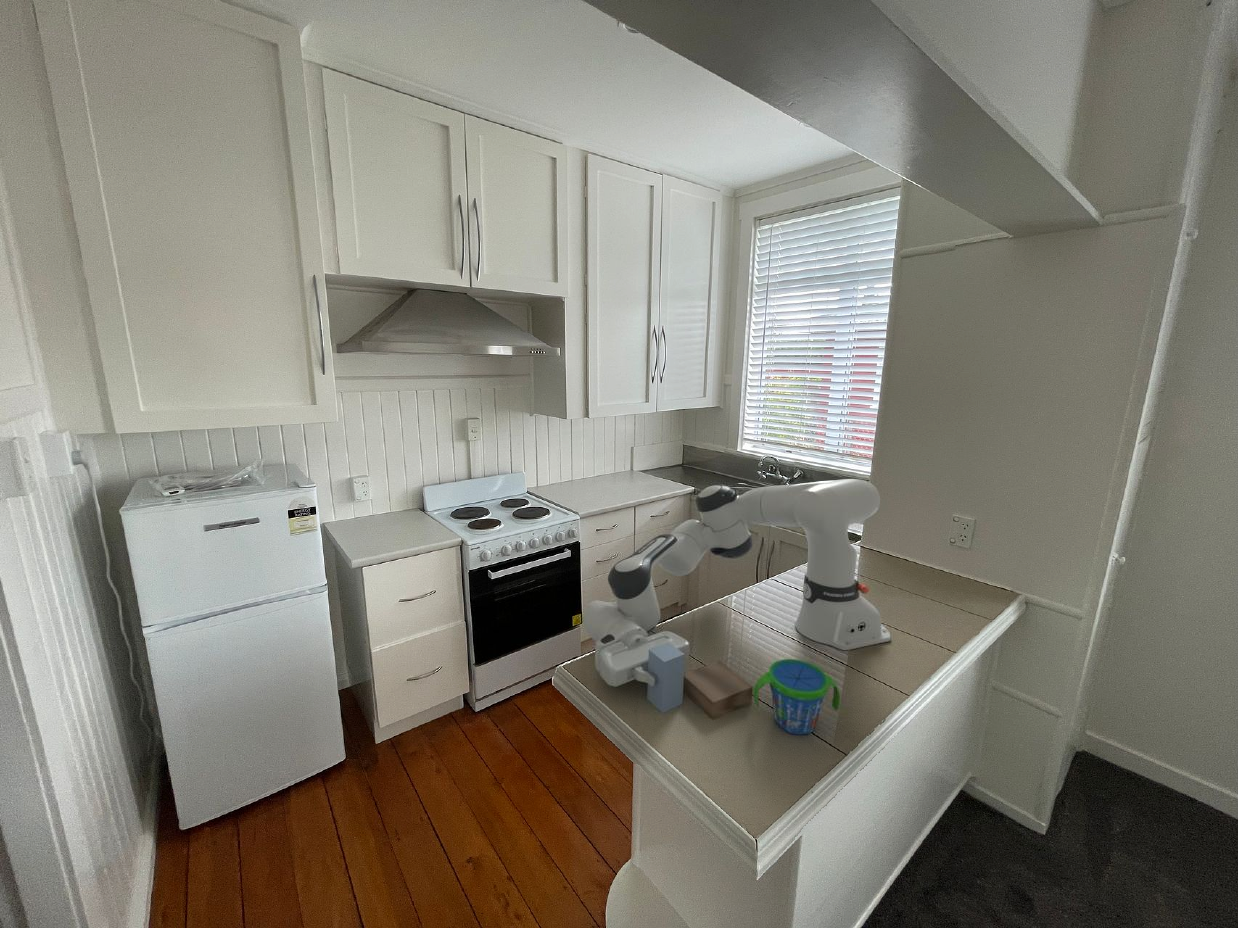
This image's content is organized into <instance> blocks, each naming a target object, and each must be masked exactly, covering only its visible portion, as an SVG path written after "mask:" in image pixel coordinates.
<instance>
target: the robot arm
mask: <svg viewBox="0 0 1238 928" xmlns="http://www.w3.org/2000/svg"><path fill="white" fill-rule="evenodd" d="M739 494H740V491H739V490H738V489H736V488H731V487H729V486H727V485H723V484H715V485H711V486H710V485H709V486H708V487H705V488H704V489H702V490H701V491H700V492H698V494H697V496H696V497H695V505H696V509H697V511H698V512H699V514H700V518H701V520H702V521H700V520H698V519H688V520H685V521H683V522H682V523H681V524H679V525H677V527H676V528H675V529H673V530H672V531H671V532H670V533H664V534H660V535H657V536H655V537H654V538H652V539H651V540H649V541H648V542H646V543H645V544H644V545H642V546H641V547H640V548H639V549H637V550H636V551H635V552H633V553H632V554H631V555H629V556H627V557H625V558H622V559H621V560H619V561H617V562H616V563H615V564H614V565H613V566H612V568H611V570H610V571H609V573H608V576H607V581H608V584H609V587H610V589H611V591H612V594H613V596H614V600H615V601H609V602H608V601H601V600H597V599H596V600H593V601H591V602H589V604H587V605H586V607H585V609H584V611H583V615H582V626H583V628H584V630H585V632H586V633H587V634H588V636H589V638H591V639H592V640H593V641H594V642H595V646H594V663H595V664H594V665H595V670H597V672H599V675H600V677H601V678H602V680H604V682H605V683H606V684H607V685H609V686H611V687H616V688H617V687H619V686H621V685H624V684H626V683H629V682H631V681H634V680H636V681H638V682H642V683H647V685H648V684H649V685H650V686H654V685H656V684H658V676H657V675H655V673H653V672H652V673H648V657H649V649H652V648H654V647H657V646H660V645H663V644H665V643H668V642H669V643H670V644H672V645H673V646H674V647H676V648H677V649H678V650H680V651H681V652H682V653H684V654H685V657H684V661H685V660H686V659H688V658H689V656H690V642H689V641H688V640H687V639H685V638H684V637H682V636H681V635H678V634H676V633H675V632H672V631H669V630H663V631H659V632H656V633H654V634H651V635H649V633H650V632H652V631H653V630H654V629H655V628H656V627H658V624H659V623H660V622H661V619H662V618H661V617H662V613H661V609H660V604H659V602H658V598H657V594H656V590H655V586H654V583H653V577H652V576H653V575H652V571H653V567H655V566H656V565H657V564H658V565H659V567H660V568H661V569H662V570H664V571H665V572H667V573H669V574H671V575H673V576H685V575H686V576H687V575H688V574H690V573H691V572H692V571H694V570H695V569H696V568H697V566H698V565H699V563H700V562H701V560H702V559H703V557H704V555H705V553H706V552H707V551H709V550H710V553H712V554H713V555H714V556H720V557H722V558H725V559H738V558H741V557H743V556H745V555H746V554H748V552H749V553H750V551H751V550H752V547H753V545H754V541H753V537H752V533H751V532H750V531H749V527H748V525H747V524H750V523H752V524H756V525H760V526H766V527H770V526H771V527H802V528H803V530H804V532H805V535H806V539H807V540H806V541H807V548H808V549H807V550H808V553H807V565H806V567H807V568H806V573H804V579H803V589H802V590H803V591H802V593H803V597H802V602H801V606H800V610H799V613H798V616H797V618H796V620H795V623H794V625H795V629H796V630H797V631H798V633H800V634H801V635H802V636H804V637H806V638H808V639H810V640H812V641H814V642H816V643H817V642H818V643H821V644H825V645H829V646H832V647H834V648H837V649H839V650H842V651H850V650H853V649H857V648H858V649H859V648H862V647H868V646H873V645H877V644H880V643H881V644H882V643H885V642H889V641H891V634H890V631H889V630H888V628H886V627H885V626H884V625H883V624H882V619H881V618H882V617H881V615H880V612H879V611H878V609H877V608H876V607H875V606H874V605H873V604H872V603H871V602H869V601H868V600H867V599H866V598H864V597H863V596H862V595H861V594H860V593H862V594H863V595H866V594H868V593H869V591H870V588H869V586H868V585H865V584H864V583H862V582H861V583H859V581H858V580H856V579H855V576H856V567H857V559H858V553H857V551H856V549H855V547H854V546H853V545H852V544H851V543H850V539H849V534H848V533H849V531H848V530H849V526H851V525H854V524H858V523H862V522H863V521H866V520H867V519H868V518H870V517H872V516H873V515H874V514H875V513H876V512H877V511H878V510H879V507H880V504H881V496H880V493H879V490H878V489H877V487H876V486H875V485H874V484H873V483H871V482H869V481H867V480H863V479H857V478H845V479H837V480H836V479H835V480H823V481H822V480H821V481H815V482H812V481H811V482H804V483H795V484H783V485H770V486H769V485H767V486H763V487H762V486H761V487H757V488H753V489H749V490H748V491H746V492H744V493H743V494H740V495H739ZM859 591H860V592H859Z"/></svg>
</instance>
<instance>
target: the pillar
mask: <svg viewBox="0 0 1238 928" xmlns="http://www.w3.org/2000/svg"><path fill="white" fill-rule="evenodd" d="M684 657H685V654H684V653H682V652H681V651H680V650H678V649H677V648H676V647H674V646H673V645H672V644H670V643H669V642H668V643H665V644H663V645H660V646H657V647H654V648H652V649H649V657H648V673H652V672H653V673H655V675H657V676H658V684H656V685H654V686H650V685H649V684H648V683H647V697H646V698H647V700H648V701H649V702H650V703H651V704H652V705H653V706H654V707H655V708H656V709H657V710H659V711H660V713H662V714H664V713H666V712H668V711H671V710H674V709H675V708H677V707H680V706H682V705H683V701H684V700H683V699H684V698H683V697H684V692H683V680H684V674H685V660H684Z"/></svg>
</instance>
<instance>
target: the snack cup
mask: <svg viewBox="0 0 1238 928" xmlns="http://www.w3.org/2000/svg"><path fill="white" fill-rule="evenodd" d="M766 684H769V686H770V691H771V696H772V697H771V698H772V699H771V700H772V701H771V702H772V710H773V717H774V721H775V723H777V724H778V726H779V727H780V728H781V729H783V730H784V731H786V732H787V733H788V734H792V735H793V734H795V735H807V734H808V735H810V734H812V733H813V731H814V730H815V728H816V727H817V723H818V721H819V720H818V719H819V717H820V712H821V709H822V706H823V702H824V698H825V696H826V694H827V693H828V691H829V687H830V686H833V697H832V700H831V702H832V703H831V706H832V707H833V709H834V710H835V711H839V710H840V707H841V692H840V688H839V687H838V684H836V682H835V681H834V680H833V678H832V677H830V676H829V675H828V674H827V673H825V672H824V671H823V670H822V669H820V667H818V666H816V665H815V664H812V663H810V662H808V661H804V660H800V659H795V658H794V659H792V658H787V659H786V658H785V659H780V660H777V661H775V662H773V663H772V664H771V665H769V669H768V671H767V672H766V673H764V674H762V675H761V676H760V678H758V680H757V682H756V683H755V684H754V689H753V699H754V703H755V706H756V708H757V709H759V708H760V705H759V691H760V690H761V689H762V688H763V687H764V686H765V685H766Z"/></svg>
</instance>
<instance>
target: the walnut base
mask: <svg viewBox="0 0 1238 928" xmlns="http://www.w3.org/2000/svg"><path fill="white" fill-rule="evenodd" d="M753 691H754V689H753V685H751V684H750V683H749V682H747V681H746V680H745V679H743V678H742V677H741V676H740V675H738V674H737V673H736V672H735V671H733V670H732V669H730V668H729V667H728V666H727V665H726V664H724V663H723V662H722V661H720V660H719V661H716V662H714V663H711V664H708V665H705V666H702V667H699V668H697V669H694V670H690V671H687V672H684V680H683V694H685V695H686V696H687V697H688V698H689V699H690V700H691V701H692V702H693V703H695V704H696V706H697V707H699V708H700V709H701V710H702V711H703V712H704V713H705V714H706V715H707V716H708V717H709V718H710V719H711V720H715V719H717V718H719V717H721V716H724V715H726V714H729V713H731V712H733V711H736V710H738V709H742V708H743V707H746V706H748V705H750V704H752V702H753Z"/></svg>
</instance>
